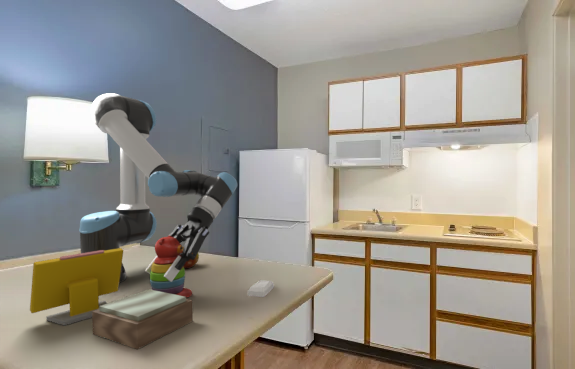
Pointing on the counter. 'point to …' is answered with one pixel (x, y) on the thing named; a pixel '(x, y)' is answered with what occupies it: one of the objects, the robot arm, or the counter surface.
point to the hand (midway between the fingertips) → (158, 276)
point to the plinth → (142, 317)
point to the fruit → (190, 261)
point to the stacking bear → (167, 255)
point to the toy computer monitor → (75, 283)
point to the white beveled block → (260, 288)
